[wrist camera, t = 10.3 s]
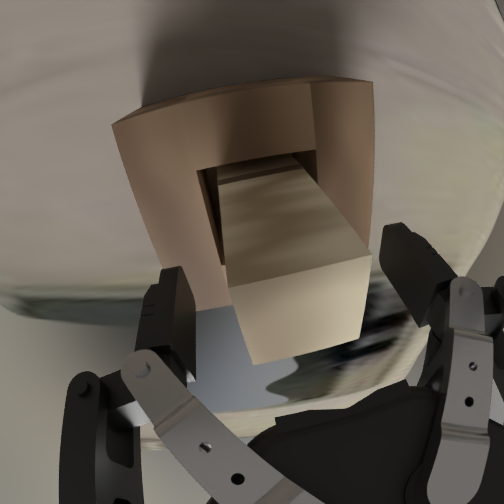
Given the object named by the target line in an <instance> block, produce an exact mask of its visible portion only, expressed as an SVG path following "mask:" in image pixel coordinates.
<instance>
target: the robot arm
mask: <svg viewBox="0 0 504 504" xmlns="http://www.w3.org/2000/svg"><path fill="white" fill-rule="evenodd" d="M496 2H497V5H498V7H499V10H500V12H501V14H502V17H503V19H504V0H496ZM379 261H380V266H381V268H382V270H383V272H384V273H385V275H386V276H387V278H388V279H389V281H390V282H391V284H392V285H393V287H394V288H395V290H396V291H397V293H398V295H399V296H400V298H401V299H402V301H403V302H404V304H405V306H406V307H407V309H408V310H409V312H410V314H411V315H412V317H413V319H414V320H415V322H416V324H417V325H418V327H419V328H420V327H423V326H426V325H428V324H429V325H430V327H431V330H430V332H429V337H428V343H427V349H426V355H425V361H424V366H423V371H422V375H421V377H420V379H419V381H418V384H417V386H409V385H408V383H407V381H406V379H405V380H402V381H400V382H397V383H394V384H392V385H389V386H387V387H384V388H381V389H378V390H376V391H375V392H373V393H372V394H370V395H369V396H367V397H365V398H364V399H362V400H361V401H359V402H357V403H356V404H354V405H352V406H351V407H349V408H346V409H329V410H307V411H303V412H299V413H294V414H290V415H285V416H280V417H275V422H276V425H274V426H272V427H270V428H268V429H266V430H265V431H263V432H261V433H260V434H258V435H257V436H256V437H254V438H253V440H251V441H250V442H249V443H248V444H247V445H246V444H244V443H243V442H242V441H241V440H240V439H239V438H238V437H237V436H236V435H234V434H233V433H232V432H231V431H230V430H229V429H228V428H227V427H226V426H225V425H224V424H223V423H222V422H221V421H220V420H218V419H217V418H216V417H215V416H214V415H213V414H212V413H211V412H210V411H209V410H208V409H207V408H206V407H205V406H204V405H203V404H202V403H201V402H200V401H199V400H198V399H197V398H196V397H195V396H193V395H192V394H191V392H189V390H188V389H187V382H193V381H196V305H195V299H194V296H193V293H192V290H191V288H190V285H189V283H188V280H187V278H186V275H185V273H184V270H183V268H182V267H181V266H176V267H171V268H166V269H162V270H161V273H160V278H159V284H154V285H151V286H150V288H149V289H148V291H147V292H146V294H145V296H144V301H143V306H142V307H143V308H142V311H141V318H140V322H139V327H138V333H137V339H136V345H135V351H134V353H132V354H130V355H129V356H128V357H127V358H126V359H125V361H124V362H123V364H122V367H121V369H120V370H118V371H116V372H114V373H111V374H109V375H106V376H104V377H101V378H99V377H98V376H97V375H96V374H94V373H92V372H89V371H85V372H81V373H79V374H77V375H76V376H75V377H74V378H73V379H72V381H71V382H70V384H69V387H68V390H67V396H66V402H65V409H64V418H63V426H62V435H61V446H60V462H59V504H144V497H143V485H142V471H141V449H140V425H143V424H146V423H149V422H152V423H153V425H154V431H155V433H156V434H157V436H158V437H159V438H160V439H161V441H162V442H163V443H164V444H165V446H166V447H167V448H168V449H169V451H170V452H171V453H172V454H173V455H174V457H175V458H176V459H177V460H178V461H179V462H180V464H181V465H182V466H183V467H184V468H185V469H186V470H187V471H188V473H189V474H190V475H191V476H192V477H193V478H194V479H195V480H196V481H197V482H198V483H199V484H200V485H201V486H202V487H203V488H204V489H205V490H206V491H207V492H208V493H209V494H210V495H211V498H210V499H209V501H208V502H207V503H206V504H504V426H503V425H501V424H499V423H497V422H495V421H493V420H491V419H489V412H490V404H491V394H492V379H494V381H495V383H496V385H497V387H498V390H499V392H500V394H501V397H502V398H503V401H504V332H503V328H504V276H501V277H499V278H498V279H497V281H496V283H495V285H494V287H480V286H479V285H478V284H477V283H476V282H475V281H474V280H472V279H470V278H468V277H458V276H457V275H456V274H455V272H454V271H453V270H452V269H451V268H450V266H449V265H448V264H447V263H446V262H445V261H444V259H443V258H442V257H441V256H440V255H439V254H437V251H436V250H435V249H434V248H432V246H431V245H430V244H429V243H428V242H427V240H426V239H425V238H423V237H422V236H420V235H418V234H417V233H415V232H411V231H410V230H409V228H408V227H407V226H406V225H405V224H404V223H402V222H399V223H394V224H389V225H385V226H384V228H383V233H382V240H381V247H380V254H379Z"/></svg>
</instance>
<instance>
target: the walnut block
mask: <svg viewBox="0 0 504 504" xmlns="http://www.w3.org/2000/svg"><path fill="white" fill-rule="evenodd" d="M112 129H113V132H114V136H115V139H116V142H117V145H118V149H119V152H120V155H121V158H122V161H123V164H124V167H125V170H126V173H127V176H128V179H129V182H130V185H131V188H132V191H133V194H134V196H135V199H136V202H137V205H138V207H139V210H140V213H141V215H142V218H143V221H144V223H145V226H146V228H147V231H148V233H149V236H150V238H151V241H152V243H153V246H154V248H155V251H156V253H157V255H158V258H159V260H160V263H161V265H162V267H163V269H166V268H171V267H176V266H181V267H182V268H183V270H184V273H185V275H186V278H187V280H188V283H189V285H190V288H191V290H192V293H193V296H194V299H195V305H196V311H201V310H206V309H212V308H217V307H222V306H228V305H233V303H232V300H231V296H230V293H229V290H228V285H227V275H226V266H225V255H224V245H223V235H222V224H221V212H220V201H219V189H218V185H217V180H218V176H217V166H220V165H224V164H229V163H234V162H240V161H245V160H250V159H256V158H261V157H267V156H273V155H279V154H286V153H290V154H291V155H292V156H293V157H294V158H295V159H296V160H297V162H298V163H299V164H301V165H302V166H303V167H304V169H305V171H306V172H307V173H308V174H309V175H310V176H311V178H312V179H313V180H314V181H315V182H316V183H317V185H318V186H319V187H320V188H321V189H322V191H323V192H324V193H325V194H326V195H327V197H328V198H329V199H330V200H331V201H332V203H333V204H334V205H335V206H336V208H337V209H338V210H339V211H340V213H341V214H342V215H343V216H344V218H345V219H346V220H347V221H348V223H349V224H350V225H351V227H352V228H353V229H354V230H355V232H356V233H357V234H358V236H359V237H360V238H361V240H362V241H363V242H364V244H365V245H366V246H367V248H368V244H369V235H370V225H371V213H372V200H373V182H374V150H375V126H374V94H373V82H370V81H364V80H358V79H351V78H343V77H335V76H308V77H294V78H283V79H273V80H265V81H257V82H250V83H243V84H237V85H231V86H226V87H220V88H215V89H210V90H205V91H201V92H196V93H192V94H188V95H184V96H180V97H176V98H172V99H168V100H164V101H161V102H157V103H154V104H151V105H147V106H144V107H141V108H139V109H137V110H136V111H134V112H132V113H130V114H128V115H127V116H125V117H123V118H122V119H120V120H118V121H117V122H115V123H113V124H112Z"/></svg>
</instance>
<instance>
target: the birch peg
mask: <svg viewBox="0 0 504 504" xmlns="http://www.w3.org/2000/svg"><path fill="white" fill-rule="evenodd" d="M217 176H218V180H217V185H218V189H219V201H220V212H221V224H222V235H223V245H224V255H225V266H226V275H227V285H228V290H229V293H230V296H231V300H232V303H233V306H234V309H235V312H236V315H237V318H238V321H239V324H240V327H241V330H242V333H243V336H244V339H245V342H246V345H247V348H248V351H249V354H250V357H251V360H252V363H253V365H257V364H262V363H267V362H271V361H276V360H280V359H284V358H289V357H293V356H297V355H301V354H305V353H309V352H313V351H317V350H321V349H324V348H328V347H332V346H335V345H339V344H342V343H345V342H349V341H352V340H355V339H358V338H359V335H360V330H361V325H362V320H363V314H364V309H365V303H366V297H367V290H368V284H369V277H370V269H371V261H372V253H371V252H370V250H369V249H368V248H367V246H366V245H365V244H364V242H363V241H362V240H361V238H360V237H359V236H358V234H357V233H356V232H355V230H354V229H353V228H352V227H351V225H350V224H349V223H348V221H347V220H346V219H345V218H344V216H343V215H342V214H341V213H340V211H339V210H338V209H337V208H336V206H335V205H334V204H333V203H332V201H331V200H330V199H329V198H328V197H327V195H326V194H325V193H324V192H323V191H322V189H321V188H320V187H319V186H318V185H317V183H316V182H315V181H314V180H313V179H312V178H311V176H310V175H309V174H308V173H307V172H306V171H305V169H304V167H303V166H302V165H301V164H299V163H298V162H297V160H296V159H295V158H294V157H293V156H292V155H291V154H290V153H286V154H279V155H273V156H267V157H261V158H256V159H250V160H245V161H240V162H234V163H229V164H224V165H220V166H217Z"/></svg>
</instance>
